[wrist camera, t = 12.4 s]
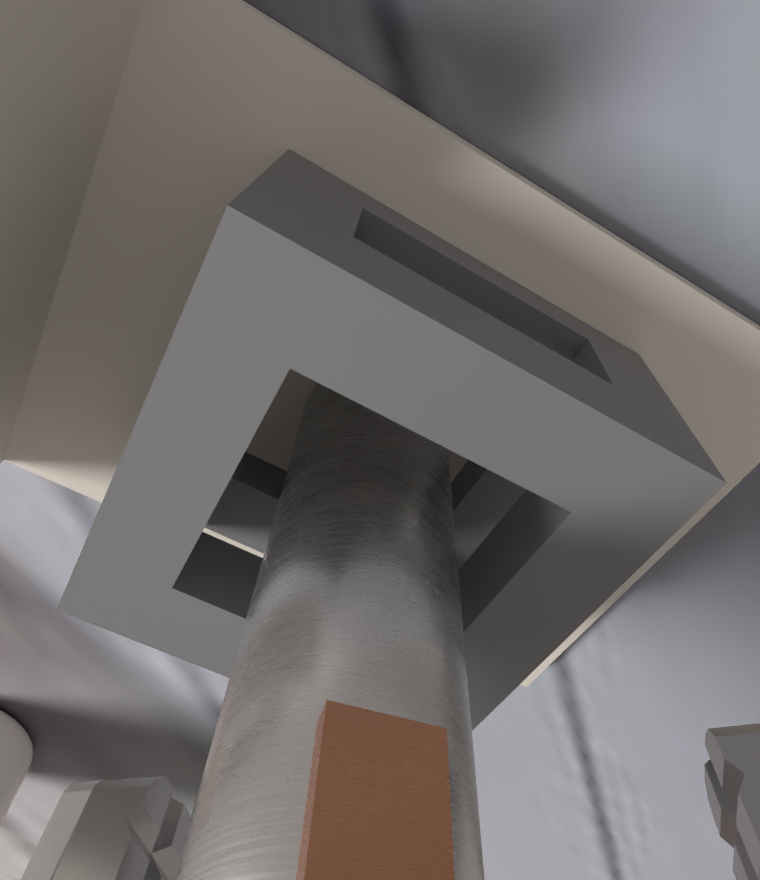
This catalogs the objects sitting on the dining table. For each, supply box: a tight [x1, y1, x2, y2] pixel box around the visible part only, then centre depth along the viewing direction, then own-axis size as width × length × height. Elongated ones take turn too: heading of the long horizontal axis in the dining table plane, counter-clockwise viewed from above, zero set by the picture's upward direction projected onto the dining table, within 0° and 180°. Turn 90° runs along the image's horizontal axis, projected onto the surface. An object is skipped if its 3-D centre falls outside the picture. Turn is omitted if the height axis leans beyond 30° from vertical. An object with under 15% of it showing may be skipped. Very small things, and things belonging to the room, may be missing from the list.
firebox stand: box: [0, 0, 760, 730], centre depth 15 cm, size 14×20×10 cm
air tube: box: [174, 384, 484, 880], centre depth 12 cm, size 4×4×16 cm
